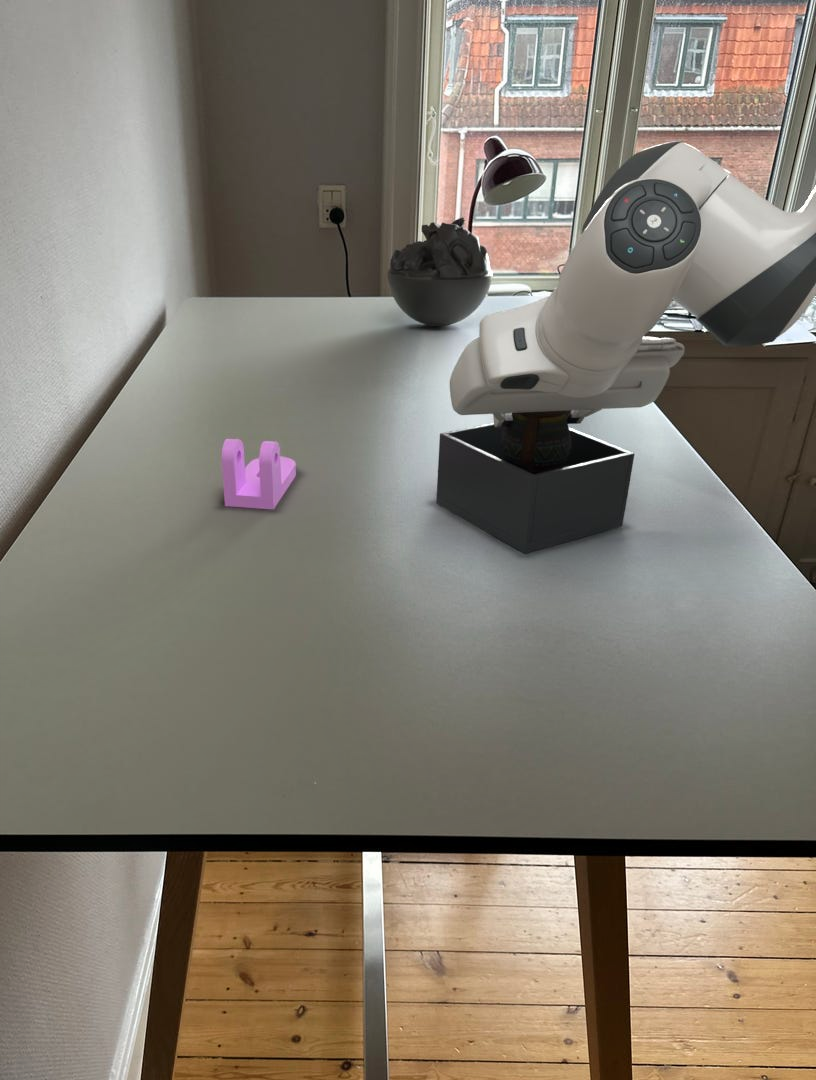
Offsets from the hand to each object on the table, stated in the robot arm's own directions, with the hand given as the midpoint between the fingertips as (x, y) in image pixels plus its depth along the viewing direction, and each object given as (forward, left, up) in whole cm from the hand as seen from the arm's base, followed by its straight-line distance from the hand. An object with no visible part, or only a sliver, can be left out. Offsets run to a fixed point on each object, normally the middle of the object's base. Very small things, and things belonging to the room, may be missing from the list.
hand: (535, 419), depth 94 cm
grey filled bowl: (-46, -82, -10) cm, 94 cm away
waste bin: (0, 0, -10) cm, 10 cm away
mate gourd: (0, +1, -6) cm, 6 cm away
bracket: (+21, -21, -10) cm, 32 cm away
